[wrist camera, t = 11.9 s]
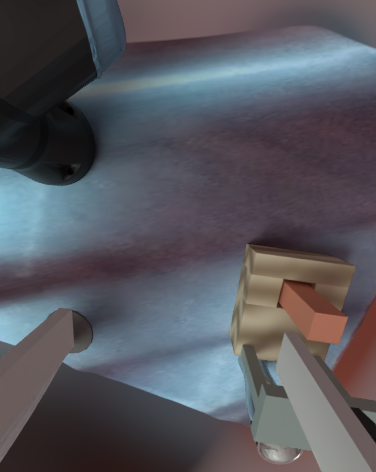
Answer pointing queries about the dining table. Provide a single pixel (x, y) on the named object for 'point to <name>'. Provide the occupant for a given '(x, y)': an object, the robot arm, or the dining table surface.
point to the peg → (312, 312)
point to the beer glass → (266, 451)
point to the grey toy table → (285, 405)
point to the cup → (81, 343)
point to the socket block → (268, 290)
